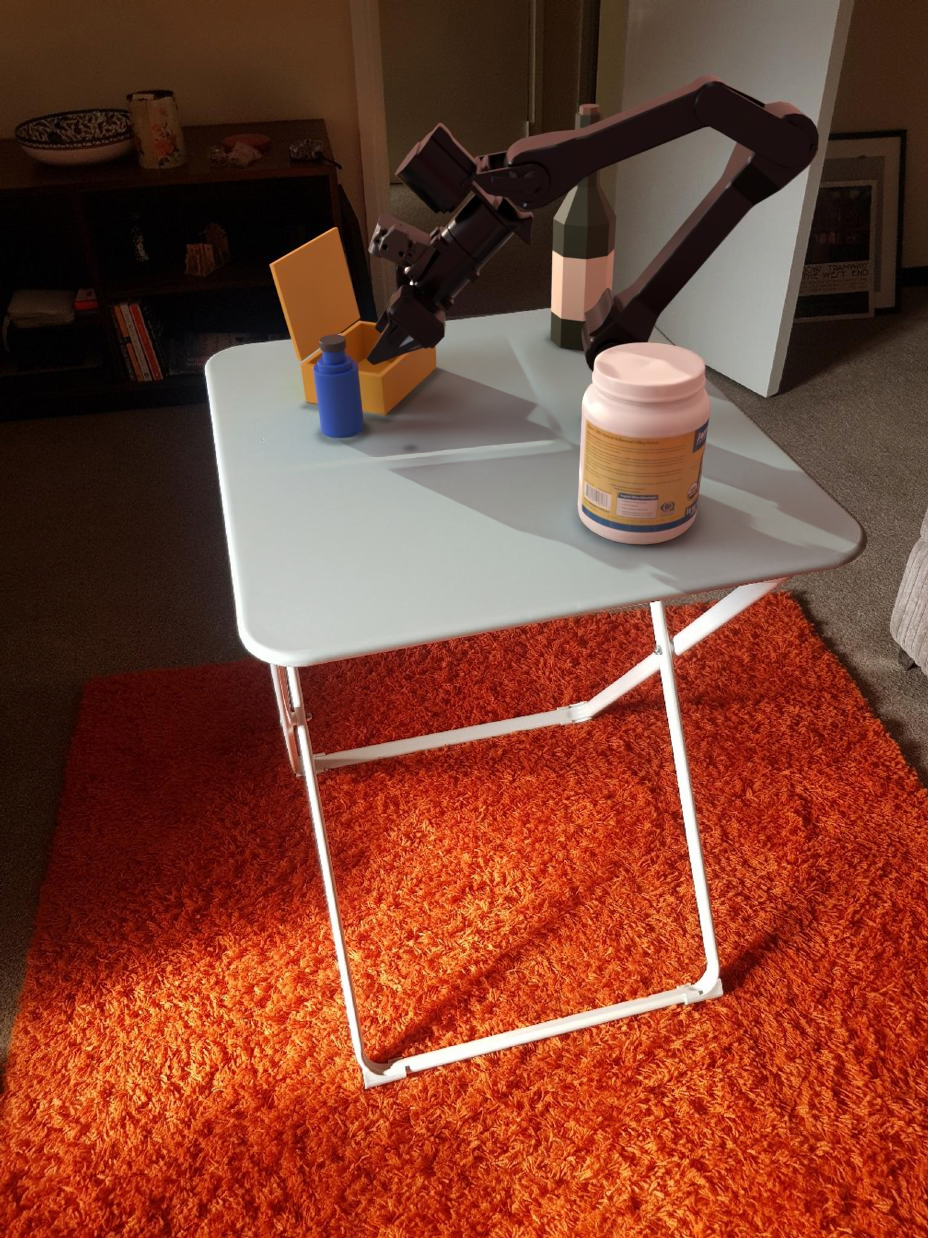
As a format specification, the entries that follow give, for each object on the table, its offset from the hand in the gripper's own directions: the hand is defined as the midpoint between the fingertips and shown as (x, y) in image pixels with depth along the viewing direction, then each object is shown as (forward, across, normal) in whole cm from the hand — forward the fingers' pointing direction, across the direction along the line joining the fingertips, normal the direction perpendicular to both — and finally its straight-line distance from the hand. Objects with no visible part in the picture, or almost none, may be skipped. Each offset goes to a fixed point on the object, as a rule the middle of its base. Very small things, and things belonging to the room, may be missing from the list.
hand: (373, 345), depth 112 cm
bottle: (+11, 0, +4) cm, 12 cm away
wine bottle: (-10, -28, +26) cm, 40 cm away
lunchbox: (+9, -13, +6) cm, 17 cm away
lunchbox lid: (+5, -15, -7) cm, 17 cm away
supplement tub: (-12, +20, +28) cm, 37 cm away
